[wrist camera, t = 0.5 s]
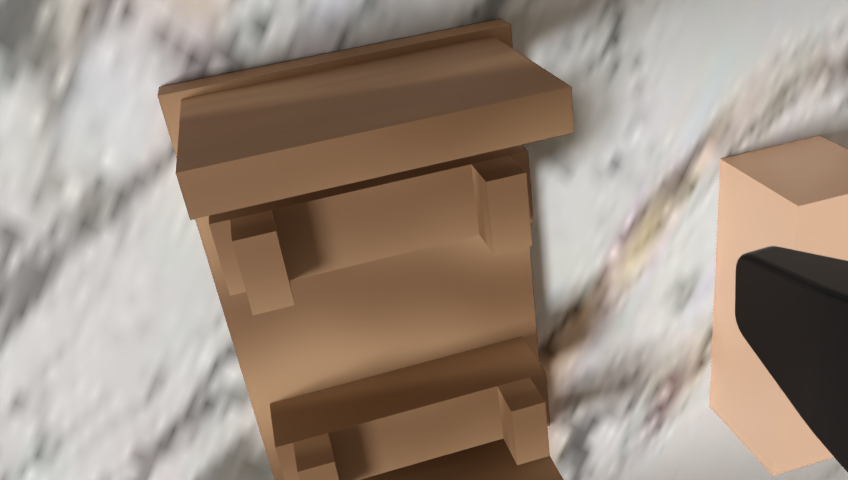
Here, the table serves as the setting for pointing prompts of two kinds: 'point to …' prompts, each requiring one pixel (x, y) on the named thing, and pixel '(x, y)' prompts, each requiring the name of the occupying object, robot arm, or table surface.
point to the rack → (379, 251)
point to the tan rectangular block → (755, 229)
